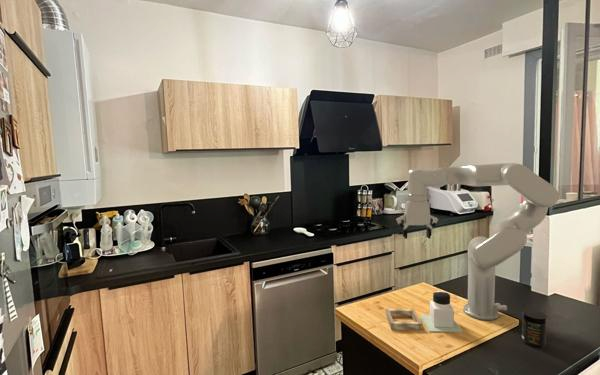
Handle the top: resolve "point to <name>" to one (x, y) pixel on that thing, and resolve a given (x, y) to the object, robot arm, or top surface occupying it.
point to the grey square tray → (403, 325)
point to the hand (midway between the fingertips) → (416, 237)
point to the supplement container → (534, 328)
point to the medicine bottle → (441, 310)
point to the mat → (431, 327)
